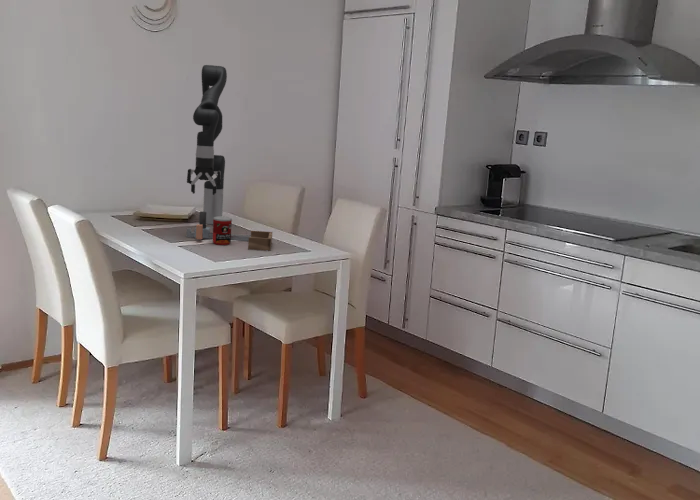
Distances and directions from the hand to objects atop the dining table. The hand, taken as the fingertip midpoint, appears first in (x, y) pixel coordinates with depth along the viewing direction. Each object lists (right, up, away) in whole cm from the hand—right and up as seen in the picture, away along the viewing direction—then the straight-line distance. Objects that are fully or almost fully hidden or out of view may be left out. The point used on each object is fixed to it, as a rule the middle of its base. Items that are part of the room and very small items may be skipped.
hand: (203, 194), depth 288 cm
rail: (+7, -19, +5) cm, 21 cm away
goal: (+25, -23, -3) cm, 34 cm away
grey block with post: (-1, -19, 0) cm, 19 cm away
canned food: (+9, -22, -4) cm, 24 cm away
